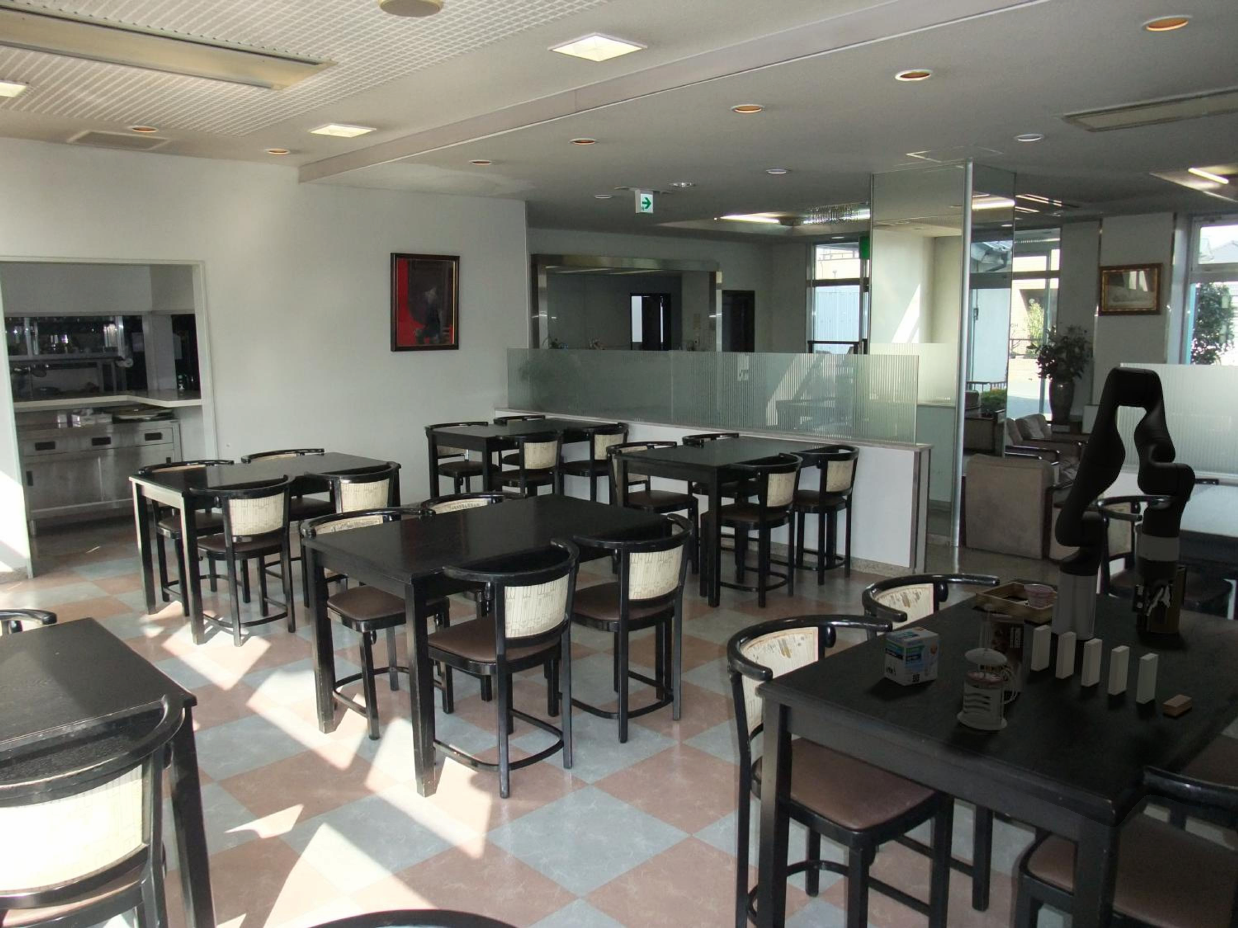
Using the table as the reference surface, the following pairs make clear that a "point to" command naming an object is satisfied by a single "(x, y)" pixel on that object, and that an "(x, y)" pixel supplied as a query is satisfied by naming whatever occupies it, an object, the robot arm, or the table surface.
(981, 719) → the french press
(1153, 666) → the sage domino
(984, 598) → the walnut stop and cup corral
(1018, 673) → the coffee box
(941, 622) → the table surface
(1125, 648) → the domino
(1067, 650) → the domino
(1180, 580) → the canister
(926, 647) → the light bulb box
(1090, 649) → the domino
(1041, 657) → the domino
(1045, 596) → the teacup
